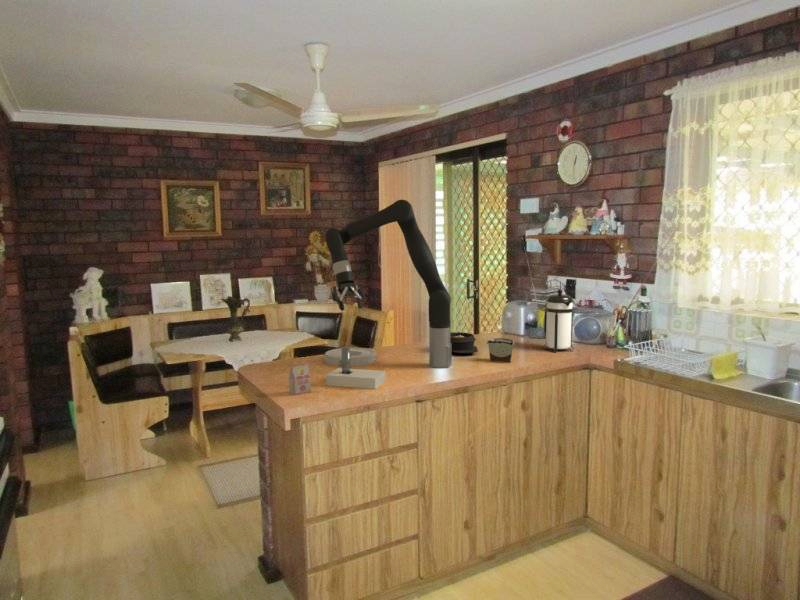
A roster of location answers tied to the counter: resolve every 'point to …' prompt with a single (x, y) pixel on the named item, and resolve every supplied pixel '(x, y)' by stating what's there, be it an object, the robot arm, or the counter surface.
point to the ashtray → (351, 356)
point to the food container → (500, 349)
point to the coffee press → (558, 321)
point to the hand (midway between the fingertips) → (351, 309)
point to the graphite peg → (345, 360)
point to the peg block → (356, 378)
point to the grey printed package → (299, 380)
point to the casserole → (462, 343)
